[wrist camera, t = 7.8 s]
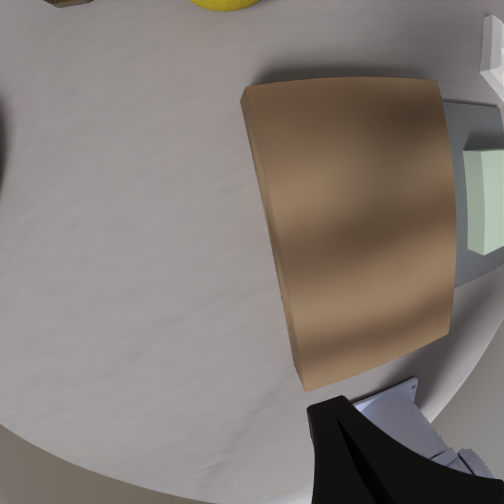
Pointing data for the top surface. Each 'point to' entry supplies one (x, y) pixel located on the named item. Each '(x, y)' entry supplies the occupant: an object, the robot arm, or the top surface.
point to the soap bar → (493, 54)
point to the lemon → (224, 4)
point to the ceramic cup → (67, 2)
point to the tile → (485, 199)
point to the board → (356, 216)
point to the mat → (463, 139)
